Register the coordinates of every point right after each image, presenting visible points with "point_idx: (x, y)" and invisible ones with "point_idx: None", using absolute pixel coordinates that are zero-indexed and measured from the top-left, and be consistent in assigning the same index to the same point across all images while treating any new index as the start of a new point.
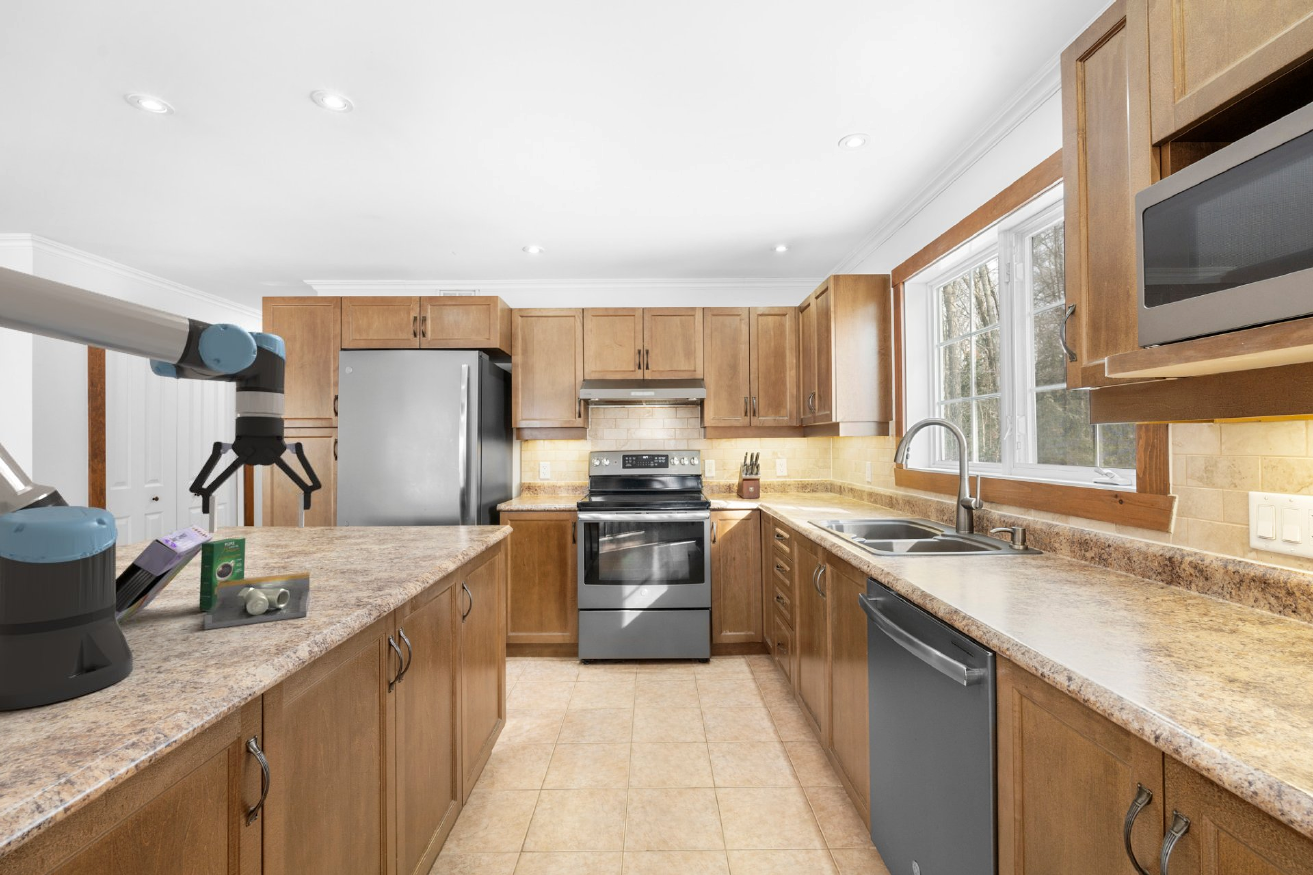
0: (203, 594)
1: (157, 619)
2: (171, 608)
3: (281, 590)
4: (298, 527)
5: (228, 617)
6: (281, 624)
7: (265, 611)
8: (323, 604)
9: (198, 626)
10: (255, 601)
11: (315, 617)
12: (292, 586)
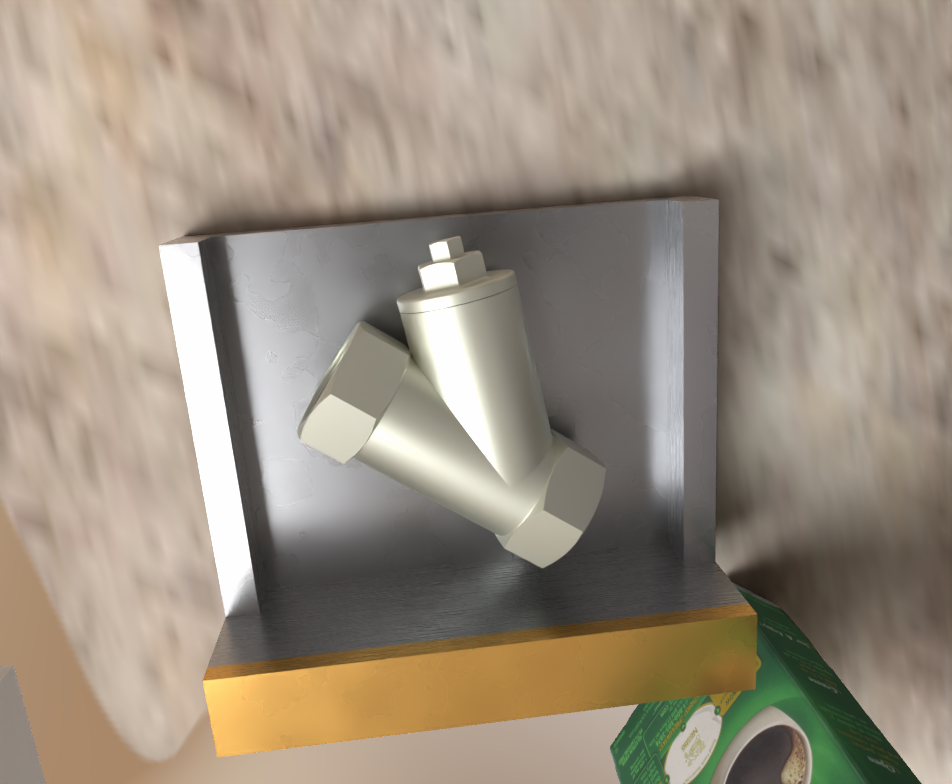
0: (803, 648)
1: (936, 523)
2: (908, 711)
3: (328, 382)
4: (8, 675)
5: (601, 288)
6: (292, 115)
7: None
8: (142, 491)
9: (730, 290)
10: (469, 283)
11: (118, 191)
12: (320, 624)
